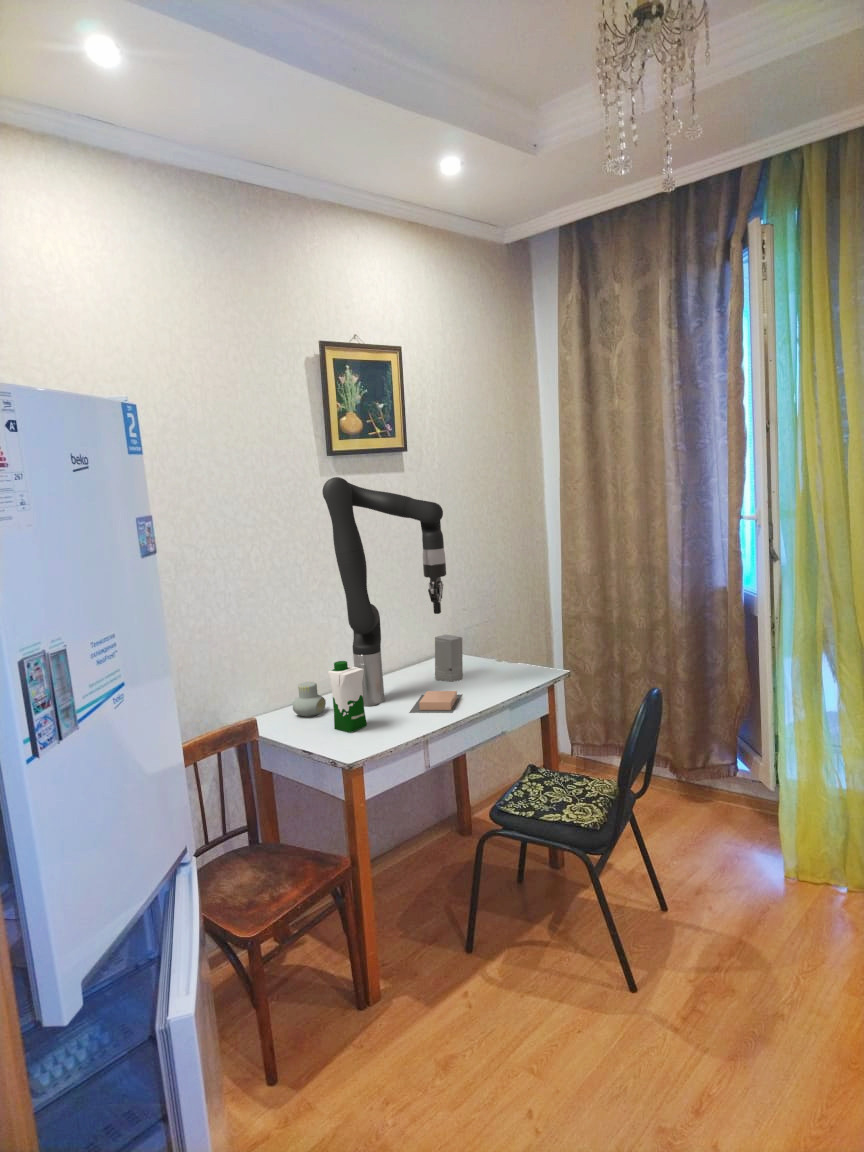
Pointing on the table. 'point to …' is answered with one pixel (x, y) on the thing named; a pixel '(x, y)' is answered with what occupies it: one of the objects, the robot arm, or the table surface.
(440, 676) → the skincare box
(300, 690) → the grey rounded piece
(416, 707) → the rubber mat
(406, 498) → the robot arm
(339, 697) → the milk carton
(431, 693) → the glazed tile
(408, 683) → the table surface
